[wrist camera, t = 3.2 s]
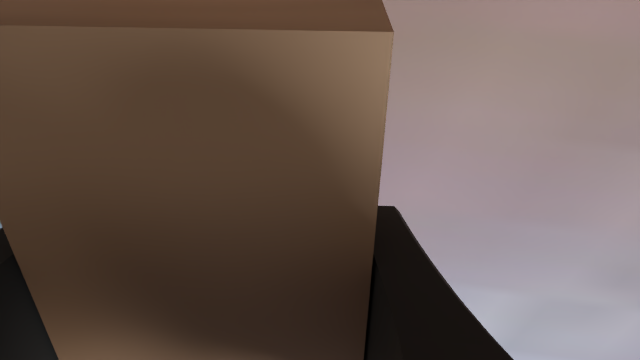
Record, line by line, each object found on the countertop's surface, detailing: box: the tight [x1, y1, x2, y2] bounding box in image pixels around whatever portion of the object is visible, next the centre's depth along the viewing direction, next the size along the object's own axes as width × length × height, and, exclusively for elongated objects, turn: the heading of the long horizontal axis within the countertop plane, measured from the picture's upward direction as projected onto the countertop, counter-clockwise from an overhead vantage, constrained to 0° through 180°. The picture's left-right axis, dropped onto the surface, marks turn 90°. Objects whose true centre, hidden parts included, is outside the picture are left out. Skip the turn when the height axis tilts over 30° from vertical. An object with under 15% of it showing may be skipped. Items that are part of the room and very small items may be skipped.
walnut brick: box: [0, 0, 394, 360], centre depth 9 cm, size 9×5×4 cm, turn 179°
